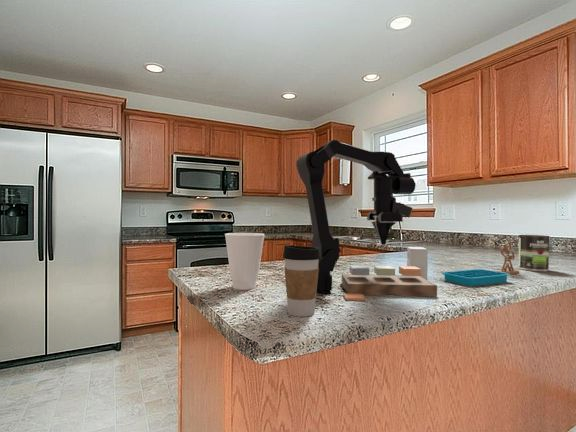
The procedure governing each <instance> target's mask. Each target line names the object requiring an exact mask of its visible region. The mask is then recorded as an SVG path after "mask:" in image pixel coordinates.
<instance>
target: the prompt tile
mask: <svg viewBox="0 0 576 432" xmlns="http://www.w3.org/2000/svg"><path fill="white" fill-rule="evenodd" d="M343 297H344V300H345V301H357V302H358V301H359V302H361V301H362V302H365V301H366V297H365V295H362V294H348V293H347V292H346V293H345V292H344V293H343Z"/></svg>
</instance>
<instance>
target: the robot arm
mask: <svg viewBox="0 0 576 432" xmlns="http://www.w3.org/2000/svg"><path fill="white" fill-rule="evenodd" d="M333 157H334V158H338V159H342V160H346V161H349V162H353V163H356V164H360V165H363V166H364V167H365V168H366V169H367V170H369V171H371V172H372V173H371V174H370V175H368V177H367V180H372V181H373V197H372V200H371V201H372V202H373V210H372V211H369V212H368V213H367V214H366V221H371V225H372V226H373V229H374V230H375V233H376V235H377V236H378V240H379V242H380V243H381V245H386V244H387V243H386V242H387V240H388V236H389V233H390V230H391V228H392V227H393V226H394V225H395V224H396V223H402V222H403V218H405V219H406V218H410V216H411V214H412V212H413V207H411V206H408V205H406V204H405V203H401V202H397V198H396V197H395V196H394V195H409V196H410V195H412V194H413V193H414V192H415V189H416V187H417V185H416V182H415V180H414V178H413V177H412V175H411V173H410V172H405V173H404V171H403V169H402V167H401V165H400V164H399V162H398V160H397V159H396V156H395V154H394V153H392V152H390V151H371V150H368V149H364V148H361V147H357V146H353V145H351V144H347V143H344V142H341V141H339V140H337V139H332V140H329V141H327V142H325V143H324V144H323V145H322V146H320V147H319V148H317V149H316V150H313V151H310V152H307V153H305V154H302V155H300V156H299V157H298V158H297V160H296V163H295V164H296V169H297V171H298V175H299V178H300V179H301V180H302V182H303V185H304V186H305V193H306V198H307V203H308V208H309V215H310V221H311V226H312V227H311V228H312V233H313V234H312V235H313V236H312V239H311V244H310V247H317V248H319V250H320V255H321V256H320V259H319V262H318V268H319V272H318V281H317V291H316V294H331V293H332V292H331V291H332V290H333V275H332V274H331V272H332V273H333V272H334V269H335V266H336V264H337V262H338V260H340V253H341V252H342V250H341V248H340V240H339V238H338V237H334V236H333V235H332V234H331V231H330V224H329V220H328V213H327V207H326V201H325V200H326V199H325V193H324V187H323V180H324V176H325V174H326V173H325V171H326V170H325V168H326V167H325V165H326V163H327V162H329V161H331V159H332V158H333Z"/></svg>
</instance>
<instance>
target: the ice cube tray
mask: <svg viewBox="0 0 576 432" xmlns="http://www.w3.org/2000/svg"><path fill="white" fill-rule="evenodd" d="M496 271H497V270H496ZM496 271H494V270H491V269H490V270H489V269H482V268H478V269H477V268H476V269H475V268H474V269H464V270H453V271H452V270H451V271H441V274H442V275H443V276H444V281H445V282H449V283H453V284H457V285H463V286H465V287H467V286H468V287H475V286H476V287H478V286H484V285H493V284H504V283H507V281H508V276H511V275H510V274H508V273H502V272H496Z"/></svg>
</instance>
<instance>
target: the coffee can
mask: <svg viewBox="0 0 576 432" xmlns="http://www.w3.org/2000/svg"><path fill="white" fill-rule="evenodd" d="M550 238H551V237H550V236H549V235H541V234H540V235H538V234H518V267H517V268H518V269H520V270H524V271H531V272H549V271H550V270H549V264H550V261H549V260H550Z"/></svg>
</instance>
